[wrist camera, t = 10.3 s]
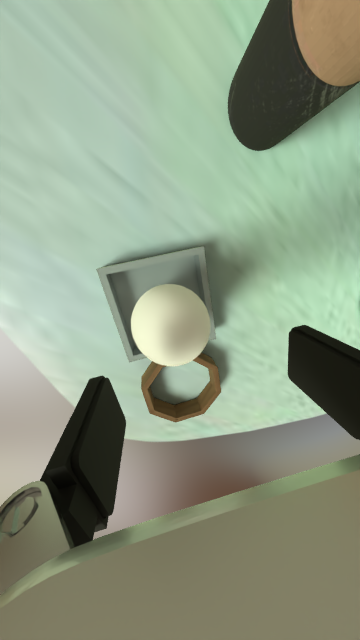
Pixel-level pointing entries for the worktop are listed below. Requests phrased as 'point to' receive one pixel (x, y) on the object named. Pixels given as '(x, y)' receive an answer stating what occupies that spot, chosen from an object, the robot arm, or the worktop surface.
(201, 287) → the tray
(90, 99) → the worktop surface
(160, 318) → the light bulb
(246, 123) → the travel mug
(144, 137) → the worktop surface
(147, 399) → the holder ring
